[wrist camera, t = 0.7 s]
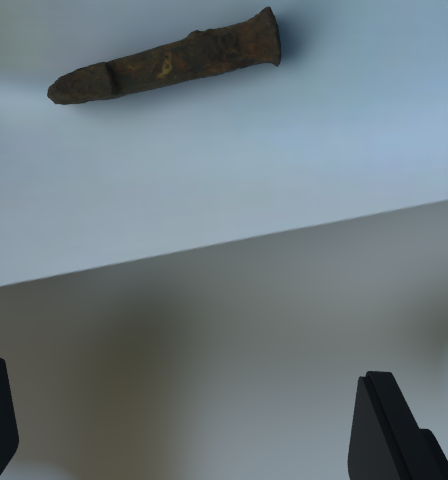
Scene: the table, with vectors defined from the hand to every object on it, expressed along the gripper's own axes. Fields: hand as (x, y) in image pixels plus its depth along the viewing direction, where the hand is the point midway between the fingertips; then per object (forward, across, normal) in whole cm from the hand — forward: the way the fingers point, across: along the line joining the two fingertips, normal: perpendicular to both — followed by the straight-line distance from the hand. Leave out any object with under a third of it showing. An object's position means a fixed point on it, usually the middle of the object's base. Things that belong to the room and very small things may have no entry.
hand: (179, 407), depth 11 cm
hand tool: (+29, +6, -9) cm, 31 cm away
